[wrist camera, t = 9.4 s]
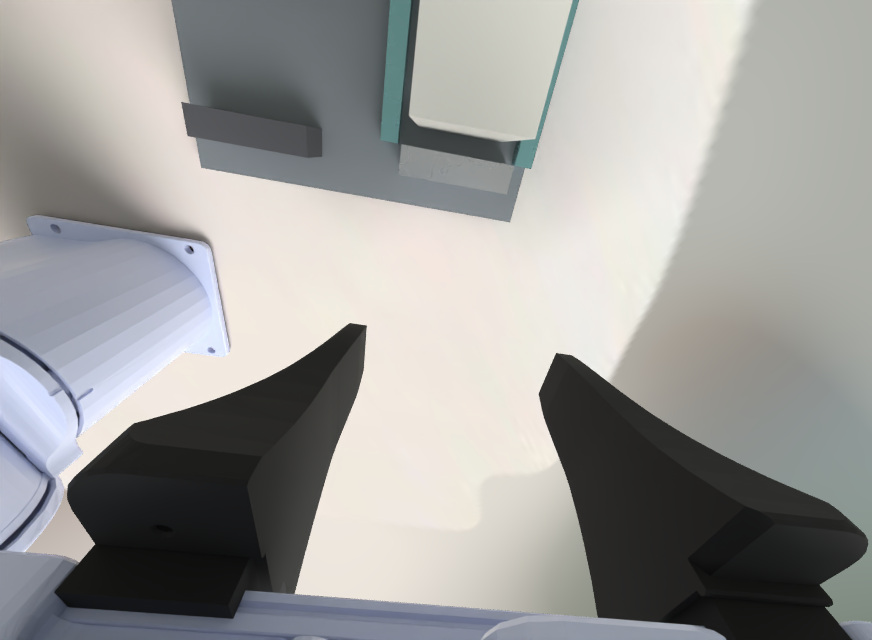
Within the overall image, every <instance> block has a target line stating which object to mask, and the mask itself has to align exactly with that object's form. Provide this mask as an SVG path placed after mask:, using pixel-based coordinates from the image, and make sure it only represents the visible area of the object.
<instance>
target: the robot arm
mask: <svg viewBox="0 0 872 640" xmlns="http://www.w3.org/2000/svg"><path fill="white" fill-rule="evenodd" d="M26 221H27V225H28V227H29V229H30V231H31V234H32V235H29V236H25V237H20V238H15V239H11V240H6V241H2V242H0V640H872V622H865V621H847V622H842V623H838V622H837V621H836V620H835V619H834V617H833V616H832V615H831V614H830V613H829V611H828V610H827V609H826V608H825V607H830V606H832V605H833V601H832V599H831V598H830V597H829V596H828V594H827V593H826V592H825V591H824V590H823V589H822V588H821V587H820V584H821V583H823V582H825V581H826V580H828V579H829V578H831V577H833V576H835V575H836V574H838V573H840V572H841V571H843V570H845V569H846V568H848V567H850V566H851V565H852V564H854V563H855V562H856V561H858V560H859V559H860V558H861V557H862V556H863V555H864V554H865V552H866V550H867V546H868V540H867V538H866V535H865V534H864V533H863V532H862V531H861V530H860V529H859V528H858V527H857V526H855V525H854V524H853V523H852V522H851V521H850V520H849V519H848V518H847V517H846V516H844V515H843V514H842V513H841V512H840V511H839V510H837V509H836V508H835V507H833V506H832V505H830V504H829V503H827V502H825V501H822V500H820V499H818V498H815V497H813V496H810V495H808V494H806V493H803V492H801V491H799V490H796V489H794V488H791V487H789V486H787V485H784V484H782V483H780V482H778V481H775V480H773V479H771V478H768V477H766V476H764V475H762V474H760V473H758V472H756V471H754V470H751V469H749V468H747V467H745V466H743V465H741V464H739V463H737V462H735V461H733V460H731V459H729V458H727V457H725V456H723V455H721V454H719V453H717V452H715V451H714V450H712V449H710V448H708V447H706V446H704V445H702V444H701V443H699V442H697V441H695V440H693V439H691V438H690V437H688V436H686V435H685V434H683V433H681V432H680V431H678V430H676V429H675V428H673V427H672V426H670V425H668V424H667V423H665V422H663V421H662V420H660V419H659V418H657V417H655V416H654V415H653V414H651V413H649V412H648V411H647V410H645V409H644V408H642V407H641V406H639V405H638V404H637V403H635V402H634V401H633V400H631V399H630V398H628V397H627V396H626V395H624V394H623V393H621V392H620V391H619V390H617V389H616V388H615V387H614V386H612V385H611V384H610V383H609V382H607V381H606V380H605V379H603V378H602V377H601V376H599V375H598V374H597V373H596V372H594V371H593V370H592V369H590V368H589V367H588V366H586V365H585V364H584V363H582V362H581V361H580V360H578V359H577V358H575V357H573V356H572V355H566V354H559V353H556V355H555V357H554V359H553V362H552V364H551V366H550V369H549V371H548V373H547V376H546V378H545V380H544V383H543V385H542V387H541V390H540V392H539V397H540V402H541V407H542V411H543V415H544V419H545V422H546V424H547V427H548V430H549V432H550V435H551V438H552V440H553V443H554V446H555V448H556V451H557V453H558V456H559V458H560V461H561V464H562V466H563V469H564V471H565V474H566V477H567V480H568V483H569V486H570V490H571V493H572V497H573V501H574V505H575V508H576V512H577V516H578V520H579V524H580V528H581V533H582V537H583V541H584V546H585V550H586V556H587V561H588V565H589V570H590V575H591V580H592V586H593V592H594V597H595V603H596V609H597V615H598V618H595V617H582V616H569V615H556V614H541V613H530V612H517V611H503V610H491V609H479V608H466V607H453V606H439V605H427V604H414V603H401V602H388V601H375V600H362V599H350V598H337V597H323V596H311V595H298V594H294V593H295V590H296V586H297V582H298V578H299V574H300V570H301V566H302V563H303V559H304V555H305V551H306V547H307V544H308V540H309V536H310V533H311V529H312V525H313V521H314V518H315V514H316V511H317V507H318V504H319V500H320V497H321V493H322V490H323V486H324V483H325V479H326V476H327V473H328V469H329V466H330V462H331V459H332V456H333V453H334V451H335V448H336V445H337V443H338V440H339V438H340V435H341V433H342V430H343V428H344V425H345V423H346V420H347V418H348V416H349V413H350V411H351V408H352V406H353V403H354V401H355V398H356V396H357V393H358V389H359V386H360V382H361V378H362V374H363V370H364V356H365V342H366V328H367V326H366V325H359V324H352V323H349V324H348V325H347V326H345V327H344V328H343V329H341V330H340V331H339V332H338V333H336V334H335V335H334V336H332V337H331V338H330V339H329V340H327V341H326V342H325V343H323V344H322V345H320V346H319V347H318V348H316V349H315V350H314V351H312V352H311V353H309V354H308V355H306V356H305V357H303V358H301V359H300V360H298V361H297V362H295V363H294V364H292V365H290V366H288V367H287V368H285V369H283V370H281V371H279V372H277V373H275V374H274V375H272V376H270V377H268V378H266V379H263V380H261V381H259V382H257V383H254V384H252V385H250V386H247V387H245V388H243V389H241V390H238V391H236V392H233V393H231V394H228V395H226V396H223V397H220V398H217V399H215V400H212V401H209V402H206V403H203V404H200V405H197V406H194V407H191V408H188V409H185V410H181V411H178V412H174V413H170V414H167V415H163V416H160V417H156V418H153V419H149V420H146V421H142V422H138V423H134V424H133V425H131V426H130V427H129V428H128V429H127V430H126V431H124V432H123V433H122V434H121V435H120V436H119V437H118V438H117V439H116V440H114V441H113V442H112V443H111V444H110V445H109V446H108V447H107V448H106V449H104V450H103V451H102V452H101V453H100V454H99V455H98V456H97V457H96V458H95V459H93V460H92V461H91V462H90V463H89V464H88V465H87V466H86V467H85V468H84V469H82V470H81V471H80V472H79V473H78V474H77V475H76V476H75V477H74V478H73V479H72V481H71V482H70V483H69V484H68V491H67V500H68V502H69V504H70V506H71V509H72V511H73V512H74V514H75V515H76V517H77V518H78V519H79V521H80V522H81V524H82V525H83V527H84V528H85V529H86V531H87V532H88V534H89V535H90V537H91V538H92V540H93V541H94V542H95V545H94V546H93V548H92V549H91V550H90V551H89V552H88V553H87V555H86V556H85V557H84V558H83V559H82V560H81V562H80V563H79V562H77V561H76V560H73V559H71V558H68V557H65V556H59V555H50V554H39V553H27V552H25V551H26V550H27V549H28V548H29V547H30V546H31V545H32V543H33V542H34V541H35V540H36V538H37V537H38V536H39V535H40V534H41V533H42V532H43V530H44V529H45V528H46V526H47V525H48V524H49V522H50V521H51V520H52V518H53V517H54V515H55V513H56V511H57V509H58V508H59V506H60V503H61V501H62V498H63V494H64V486H63V483H62V480H61V478H60V477H59V476H58V475H59V474H60V473H61V472H62V471H64V470H65V469H66V468H67V467H68V466H69V465H71V464H72V463H73V462H74V461H75V460H76V459H77V458H79V457H80V456H81V455H82V454H83V451H82V450H81V448H80V447H79V446H78V444H77V441H76V438H77V437H79V436H80V435H81V434H82V433H84V432H85V431H86V430H87V429H89V428H90V427H91V426H92V425H94V424H95V423H96V422H97V421H99V420H100V419H101V418H102V417H104V416H105V415H106V414H107V413H108V412H110V411H111V410H112V409H113V408H115V407H116V406H117V405H118V404H120V403H121V402H122V401H123V400H125V399H126V398H127V397H128V396H130V395H131V394H132V393H133V392H135V391H136V390H137V389H138V388H140V387H141V386H142V385H143V384H144V383H146V382H147V381H148V380H149V379H151V378H152V377H153V376H154V375H156V374H157V373H158V372H159V371H161V370H162V369H163V368H164V367H166V366H167V365H168V364H169V363H171V362H172V361H173V360H174V359H176V358H177V357H178V356H179V355H180V354H182V353H183V352H188V353H195V354H203V355H210V356H218V357H224V356H226V355H227V354H228V353H229V352H230V348H229V343H228V338H227V332H226V327H225V321H224V316H223V311H222V305H221V300H220V294H219V289H218V284H217V278H216V273H215V267H214V262H213V257H212V251H211V248H210V247H209V245H208V244H206V243H205V242H203V241H198V240H192V239H186V238H179V237H173V236H167V235H161V234H154V233H148V232H142V231H136V230H129V229H123V228H117V227H111V226H104V225H98V224H92V223H85V222H79V221H73V220H67V219H60V218H54V217H48V216H42V215H34V216H29V217H28V218H27V220H26ZM58 226H59V227H60V228H59V227H58ZM189 246H191V247H192V248H193V249H194V252H193V251H192V250H190V248H189ZM211 347H212V348H214V349H215V350H214V349H212V348H211Z"/></svg>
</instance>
